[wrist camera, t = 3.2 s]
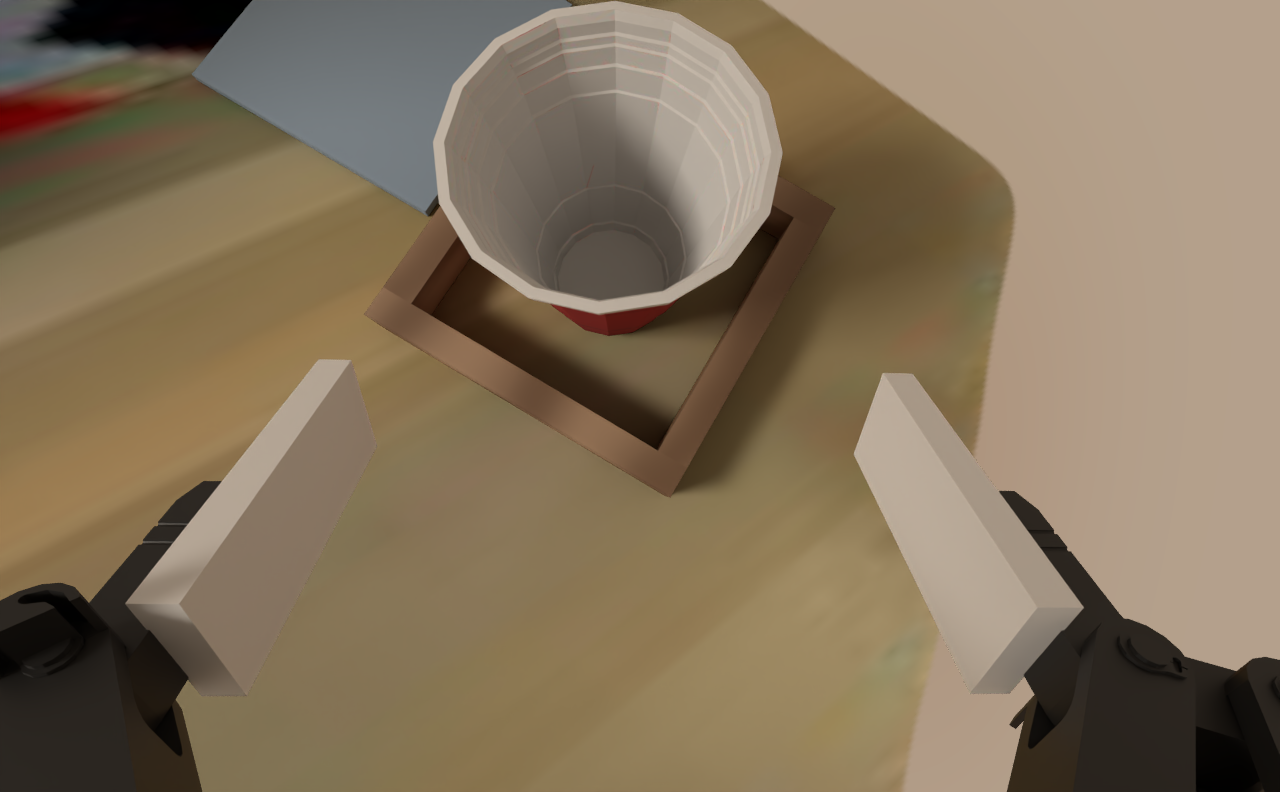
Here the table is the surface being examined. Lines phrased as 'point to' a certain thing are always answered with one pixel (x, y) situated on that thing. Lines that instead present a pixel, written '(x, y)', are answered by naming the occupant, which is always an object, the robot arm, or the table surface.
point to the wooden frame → (409, 318)
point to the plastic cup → (607, 160)
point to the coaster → (361, 76)
